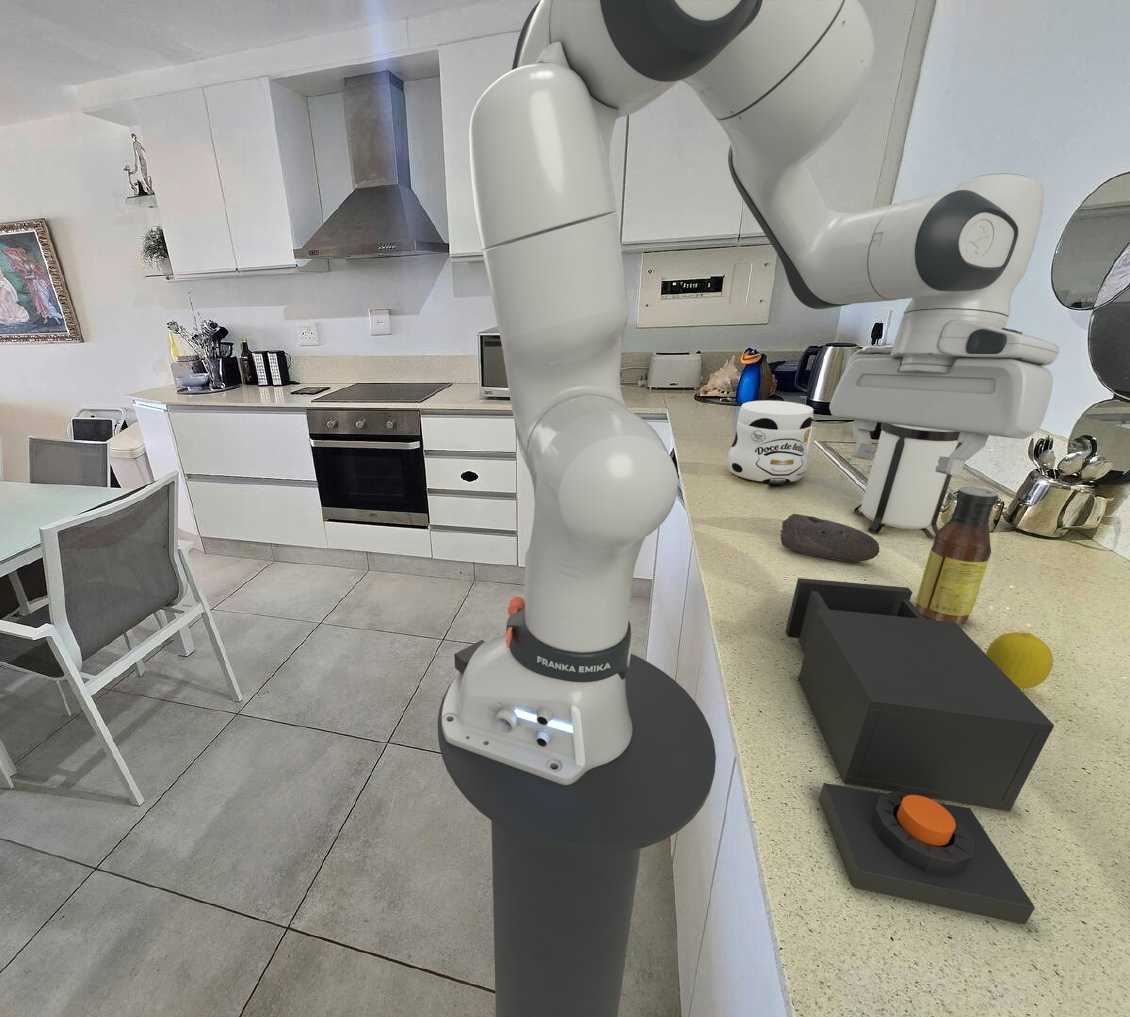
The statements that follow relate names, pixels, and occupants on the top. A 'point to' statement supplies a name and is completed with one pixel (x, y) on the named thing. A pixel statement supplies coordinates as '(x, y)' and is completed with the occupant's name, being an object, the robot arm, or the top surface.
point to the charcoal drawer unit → (919, 709)
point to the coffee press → (908, 478)
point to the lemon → (1022, 658)
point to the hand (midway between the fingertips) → (901, 465)
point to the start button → (926, 820)
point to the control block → (921, 856)
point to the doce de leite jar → (771, 442)
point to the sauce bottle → (958, 559)
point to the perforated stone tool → (827, 539)
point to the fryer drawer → (844, 603)
